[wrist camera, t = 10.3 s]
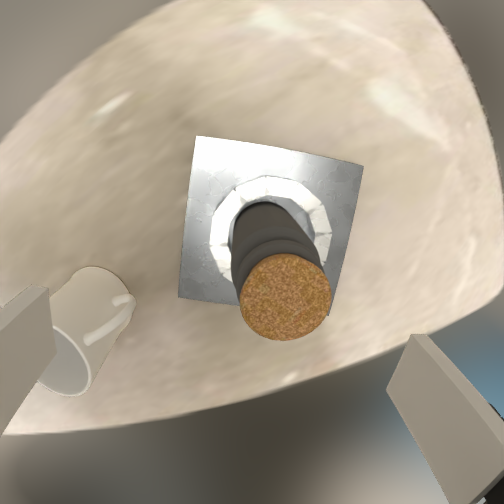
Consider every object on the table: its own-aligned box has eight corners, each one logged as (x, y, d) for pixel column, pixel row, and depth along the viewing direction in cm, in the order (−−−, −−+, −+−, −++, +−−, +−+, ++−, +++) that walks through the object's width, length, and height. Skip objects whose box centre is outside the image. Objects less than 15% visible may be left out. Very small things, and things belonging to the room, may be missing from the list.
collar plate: (179, 293, 33) (173, 308, 29) (197, 136, 28) (192, 134, 25) (326, 311, 34) (334, 327, 31) (359, 165, 29) (373, 167, 26)
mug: (138, 245, 31) (90, 294, 20) (170, 316, 34) (144, 388, 22) (56, 278, 32) (-2, 327, 20) (89, 339, 34) (47, 402, 23)
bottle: (272, 188, 29) (305, 222, 15) (306, 238, 30) (360, 311, 16) (220, 224, 30) (204, 290, 15) (256, 271, 31) (269, 367, 17)
